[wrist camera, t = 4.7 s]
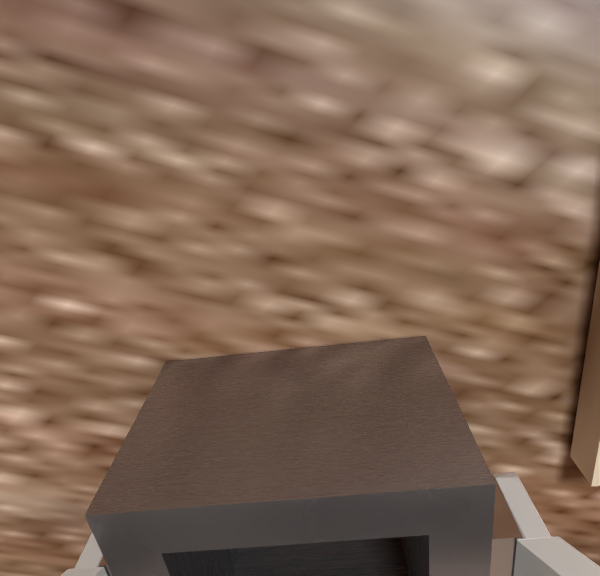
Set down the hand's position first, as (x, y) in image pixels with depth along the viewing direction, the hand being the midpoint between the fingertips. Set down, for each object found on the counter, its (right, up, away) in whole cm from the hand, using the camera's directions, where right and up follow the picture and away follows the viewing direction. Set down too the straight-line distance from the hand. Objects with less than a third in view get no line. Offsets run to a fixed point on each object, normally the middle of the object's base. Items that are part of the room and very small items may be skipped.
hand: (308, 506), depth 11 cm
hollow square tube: (0, +1, +2) cm, 2 cm away
